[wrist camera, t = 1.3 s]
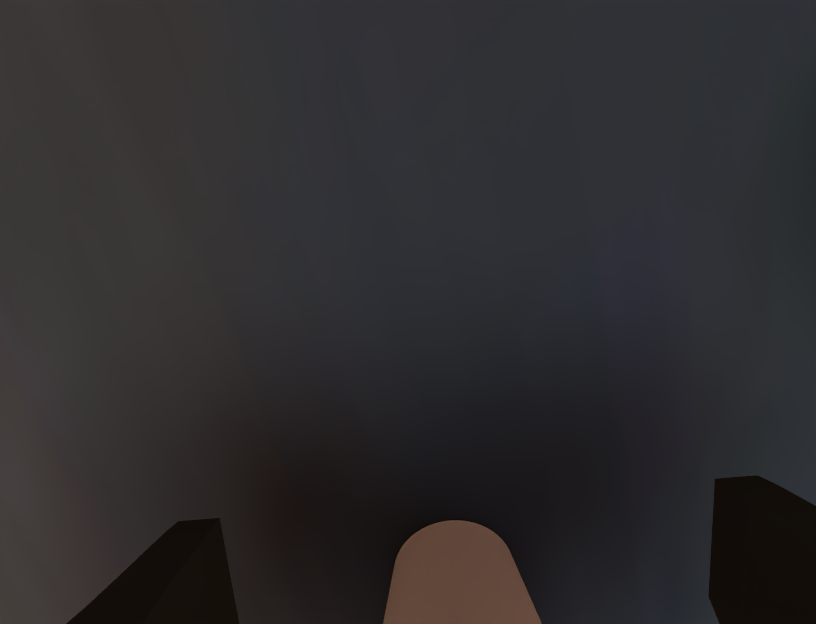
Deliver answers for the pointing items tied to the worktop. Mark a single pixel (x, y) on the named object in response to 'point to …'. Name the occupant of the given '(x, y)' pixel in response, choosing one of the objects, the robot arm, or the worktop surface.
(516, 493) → the worktop surface
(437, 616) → the smoothie
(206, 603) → the robot arm
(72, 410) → the worktop surface
